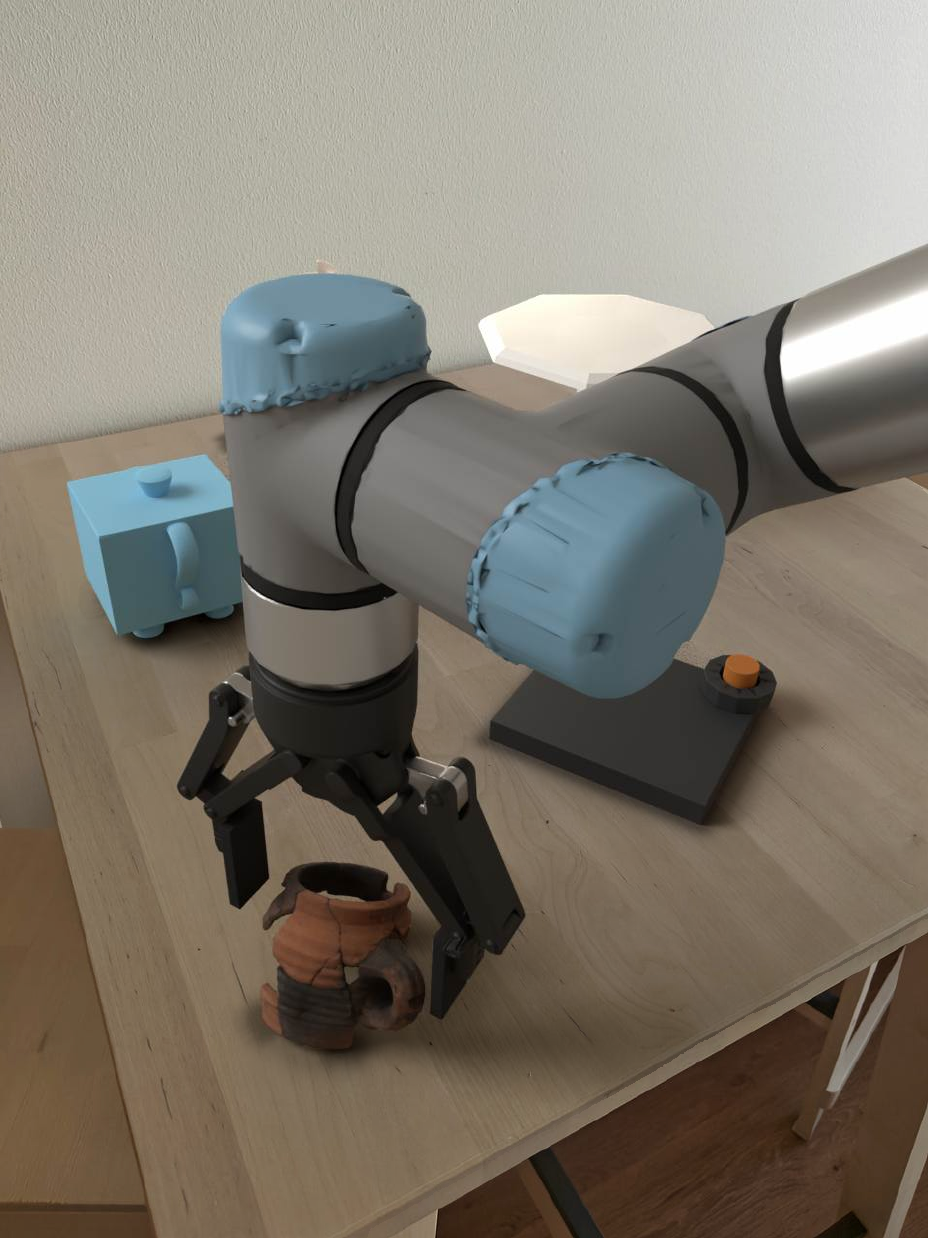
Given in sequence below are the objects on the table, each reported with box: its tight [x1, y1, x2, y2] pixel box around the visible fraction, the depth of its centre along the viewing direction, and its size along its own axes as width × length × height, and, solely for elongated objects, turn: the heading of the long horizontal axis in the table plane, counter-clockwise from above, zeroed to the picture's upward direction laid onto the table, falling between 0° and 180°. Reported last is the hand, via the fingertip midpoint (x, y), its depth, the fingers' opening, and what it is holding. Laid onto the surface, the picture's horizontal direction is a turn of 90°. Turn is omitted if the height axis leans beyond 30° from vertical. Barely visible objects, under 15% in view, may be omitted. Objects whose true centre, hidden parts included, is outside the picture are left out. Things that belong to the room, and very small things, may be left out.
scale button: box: [723, 653, 760, 689], centre depth 79 cm, size 3×3×2 cm
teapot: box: [66, 453, 243, 639], centre depth 88 cm, size 18×16×13 cm
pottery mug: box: [259, 861, 427, 1050], centre depth 58 cm, size 12×10×8 cm
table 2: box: [477, 293, 717, 393], centre depth 110 cm, size 28×28×17 cm
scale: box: [488, 654, 778, 825], centre depth 79 cm, size 18×16×4 cm
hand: (344, 942), depth 57 cm, fingers open, 13 cm apart
